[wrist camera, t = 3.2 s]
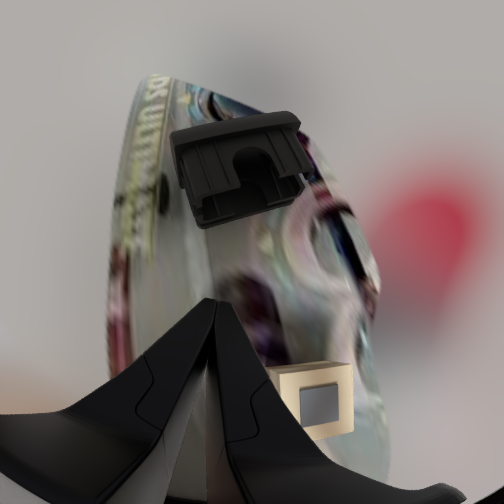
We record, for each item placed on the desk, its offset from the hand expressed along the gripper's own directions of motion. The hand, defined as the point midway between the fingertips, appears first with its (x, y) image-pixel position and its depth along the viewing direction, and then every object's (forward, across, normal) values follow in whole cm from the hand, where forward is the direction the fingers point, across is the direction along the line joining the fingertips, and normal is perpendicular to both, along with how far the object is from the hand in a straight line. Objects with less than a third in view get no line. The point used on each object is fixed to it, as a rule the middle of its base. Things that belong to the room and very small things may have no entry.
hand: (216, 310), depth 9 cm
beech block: (+6, -7, +12) cm, 16 cm away
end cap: (+19, 0, 0) cm, 19 cm away
